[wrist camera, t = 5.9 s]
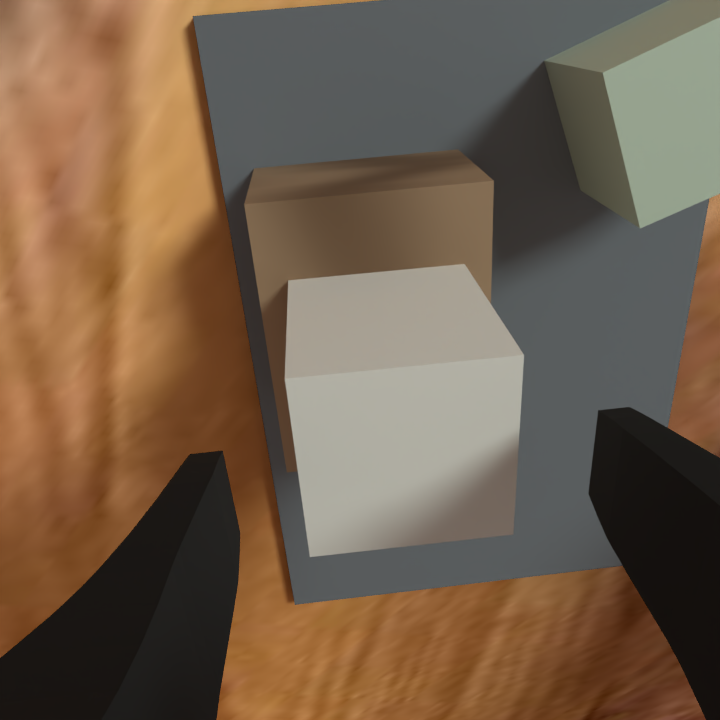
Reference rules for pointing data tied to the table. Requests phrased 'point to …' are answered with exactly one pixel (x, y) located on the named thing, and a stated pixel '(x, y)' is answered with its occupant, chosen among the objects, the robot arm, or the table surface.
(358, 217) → the walnut block
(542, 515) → the mat
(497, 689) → the table surface
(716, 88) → the sage block
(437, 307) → the cream cube
